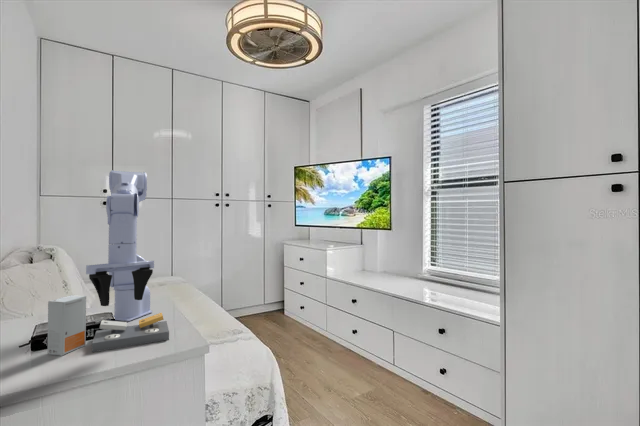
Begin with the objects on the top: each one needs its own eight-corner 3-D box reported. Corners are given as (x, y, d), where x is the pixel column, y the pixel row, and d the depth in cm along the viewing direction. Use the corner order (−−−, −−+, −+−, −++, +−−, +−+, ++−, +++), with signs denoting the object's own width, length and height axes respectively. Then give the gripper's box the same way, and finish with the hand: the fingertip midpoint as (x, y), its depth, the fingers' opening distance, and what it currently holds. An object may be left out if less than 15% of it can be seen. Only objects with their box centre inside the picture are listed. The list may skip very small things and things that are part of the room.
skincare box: (62, 356, 73) (62, 302, 73) (46, 354, 74) (46, 301, 74) (87, 345, 79) (87, 295, 79) (72, 344, 80) (72, 294, 80)
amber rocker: (139, 328, 84) (138, 324, 84) (139, 324, 87) (138, 320, 87) (163, 319, 87) (162, 315, 86) (162, 315, 90) (161, 312, 89)
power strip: (91, 352, 75) (91, 341, 75) (96, 338, 83) (96, 328, 83) (169, 339, 83) (169, 329, 83) (166, 328, 91) (166, 318, 91)
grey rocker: (99, 328, 80) (100, 324, 80) (100, 324, 83) (101, 319, 83) (125, 330, 82) (126, 325, 83) (125, 326, 85) (127, 321, 86)
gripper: (98, 244, 70) (97, 310, 69) (161, 242, 82) (161, 298, 81) (81, 245, 73) (80, 307, 72) (144, 243, 86) (144, 296, 85)
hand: (122, 302), depth 77 cm, fingers open, 7 cm apart
